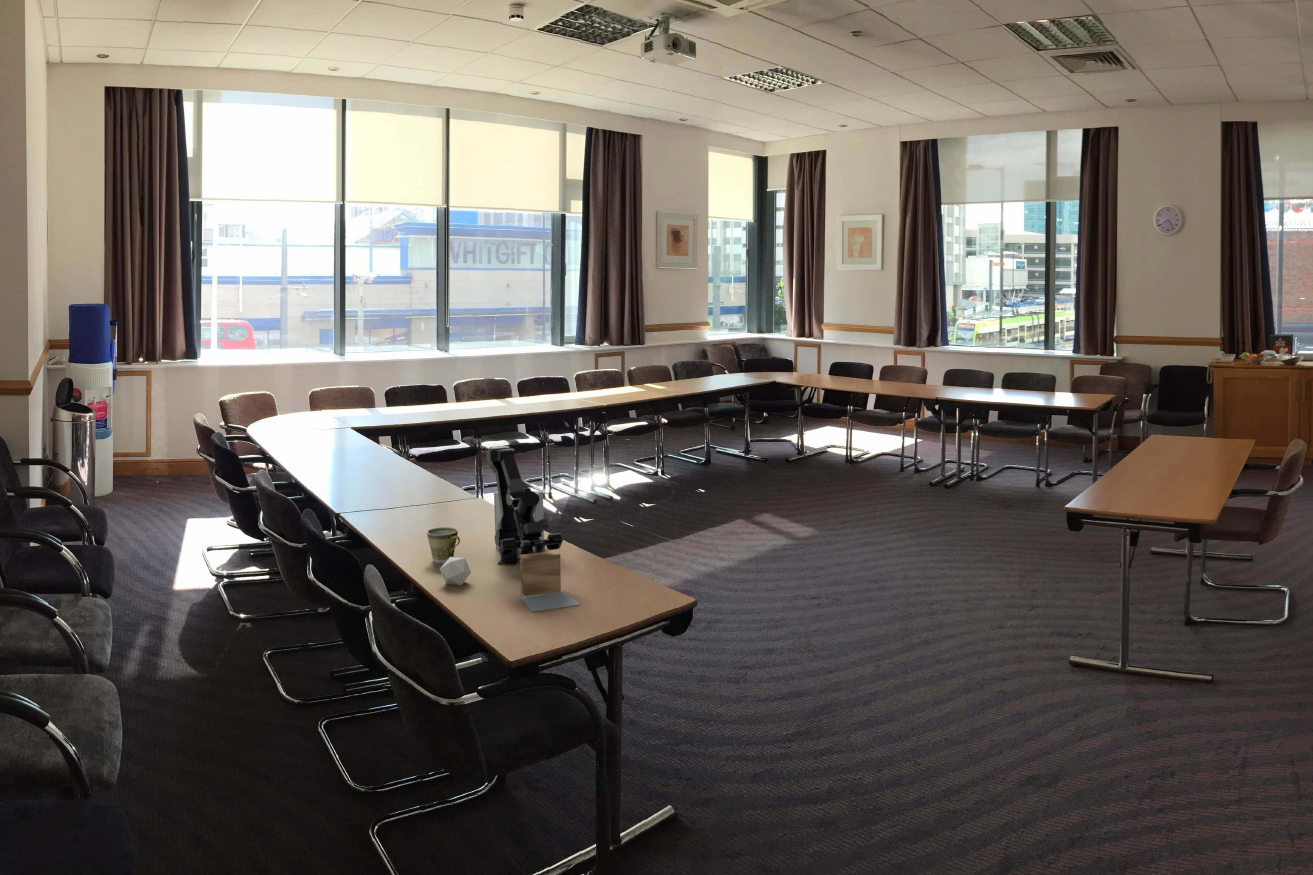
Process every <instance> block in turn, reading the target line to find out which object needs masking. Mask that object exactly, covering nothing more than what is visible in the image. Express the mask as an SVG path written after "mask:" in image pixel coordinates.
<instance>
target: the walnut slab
mask: <svg viewBox="0 0 1313 875" xmlns="http://www.w3.org/2000/svg"><path fill="white" fill-rule="evenodd" d="M519 558H520V562H519V563H520V595H521V596H522V598H526V597H533V596H540V595H547V594H554V593H561V592H562V578H561V577H562V576H561V575H562V574H561V573H562V572H561V571H562V570H561V566H562V565H561V553H559V551H557V550H548V551H543V552H541V553H533V554H524V555H519Z"/></svg>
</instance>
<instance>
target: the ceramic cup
mask: <svg viewBox="0 0 1313 875" xmlns="http://www.w3.org/2000/svg"><path fill="white" fill-rule="evenodd" d="M458 534H459V530H458V529H457V528H455V527H447V526H444V527H443V526H440V527H434V528H430V529H428V530H427V531H426V535H427V540H428V545H429V548H430V552H431V558H432V562H434V563H437V564H444V563H445V562H446V561H447V560H448V559H449V557H455V549H456V547H457V546H459V545H460V543H461V539H460V536H458Z"/></svg>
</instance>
